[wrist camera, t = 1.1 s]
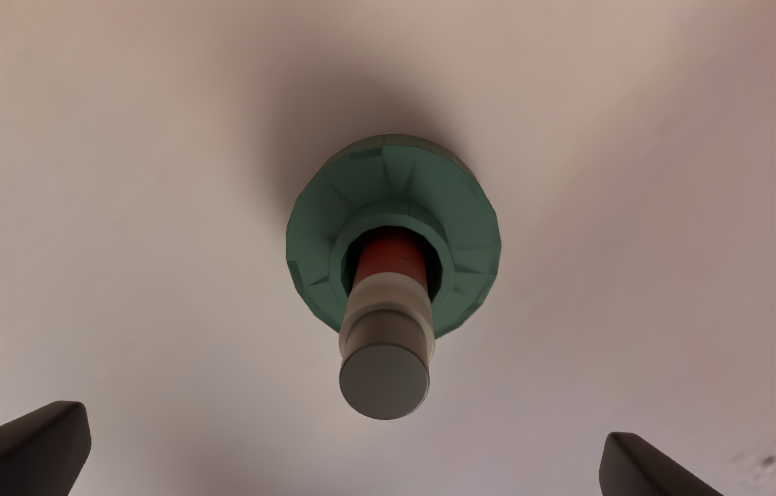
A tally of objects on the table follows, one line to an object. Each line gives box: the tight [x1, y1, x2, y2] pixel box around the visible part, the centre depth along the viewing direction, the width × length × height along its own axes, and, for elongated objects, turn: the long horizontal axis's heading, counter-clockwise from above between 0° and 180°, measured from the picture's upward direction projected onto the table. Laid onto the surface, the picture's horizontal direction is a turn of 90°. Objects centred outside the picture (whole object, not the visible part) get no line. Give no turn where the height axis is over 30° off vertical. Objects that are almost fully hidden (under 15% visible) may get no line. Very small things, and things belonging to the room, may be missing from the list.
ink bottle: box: [286, 134, 501, 340], centre depth 19 cm, size 8×8×5 cm
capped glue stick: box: [339, 225, 435, 420], centre depth 16 cm, size 2×2×11 cm
